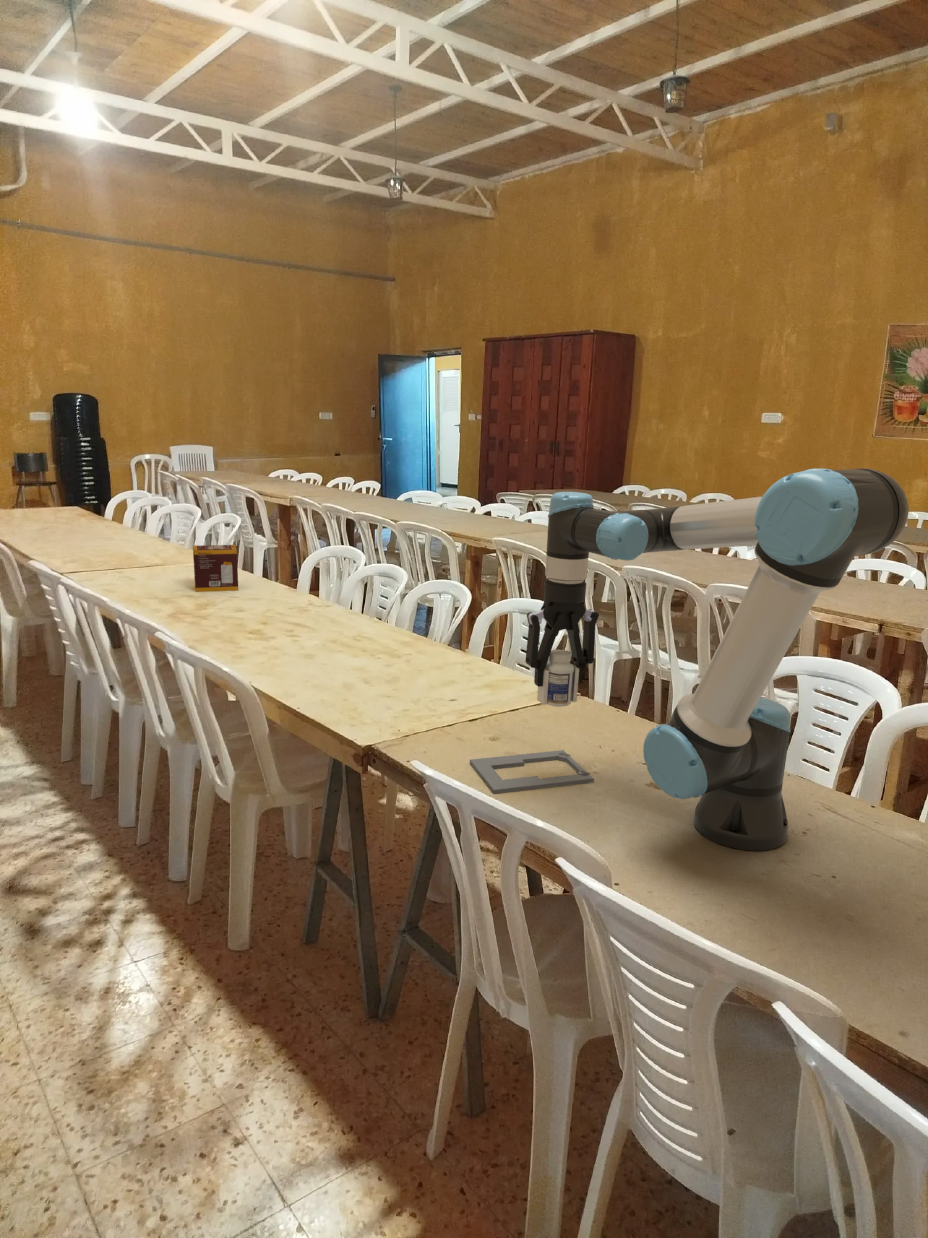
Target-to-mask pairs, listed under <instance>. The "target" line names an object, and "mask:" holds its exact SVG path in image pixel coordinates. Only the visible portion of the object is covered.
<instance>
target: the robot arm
mask: <svg viewBox="0 0 928 1238" xmlns="http://www.w3.org/2000/svg"><path fill="white" fill-rule="evenodd" d="M909 509H910V508H909V500H908V497H907V495H906V492H905V490H904V489H903V487H902V486H901V485H900V483H899V482H898V481H897V480H896V479H895V478H893V477H892V476H891V475H889V474H887V473H885V472H882V471H880V470H878V469H872V468H851V469H847V468H846V469H829V468H809V469H805V470H802V471H798V472H793V473H790V474H788V475H785V476H783V477H782V478H780V479H777V481H776V482H774V483H773V484H772V485H771V486H769V488H768V489H767V490H766V491H765V493H764V494H763V495H762V496H756V497H748V498H739V499H730V500H721V501H714V502H713V501H712V502H706V503H705V502H704V503H697V504H696V503H695V504H690V505H682V506H680V505H679V506H670V507H663V508H662V507H661V508H650V509H631V510H617V511H616V510H615V511H614V510H613V511H612V510H606V509H598V508H595V507H594V499H593V496H592V494H589V493H584V492H579V491H578V492H577V491H557V492H555V493H553V494H552V495H551V497H550V502H549V509H548V515H547V518H548V521H547V540H546V556H545V567H544V568H545V570H544V575H545V577H546V578H545V580H544V583H543V604H542V606H541V608H540V610H538V611H536V612H532V611H529V612H527V614H526V619H527V623H528V630H527V641H526V642H527V643H526V652H525V660H524V661H525V664H527V665H528V667H529V666H530V667H531V668H532V669H534V677H533V678H534V679H533V680H534V681H533V682H534V685H535V686H536V687H537V695H536V697H537V698H536V701H538V702H539V703H541V704H542V705H543V706H544V705H548V704H547V694H548V680H549V670H547V669H546V665H547V662H549V660H550V659H549V657H550V653H551V651H552V650H553V646H554V643H555V640H556V638H557V637H558V635H559V633H560V632H561V631H564V630H566V632H567V637H568V643H569V647H570V652H571V659H572V662H573V664H572V663H571V664H572V665H573V666H574V677H573V689H572V701H571V703H577V702H578V690H579V684H581V683H582V682H583V674H584V673H583V672H584V670H585V669H587V666H588V664H590V665H591V664H593V663H594V659H595V658H594V657H595V643H596V642H595V641H596V640H595V639H596V638H595V637H596V625H597V621H598V619H599V616H600V613H599V612H597V611H595V610H593V609H591V608H586V606H585V600H586V595H587V582H586V581H585V580H586V579H588V568H589V567H588V566H589V555H590V553H592V554H593V555H594V554H595V555H598V556H603V557H606V558H610V559H611V560H614V561H615V560H616V561H617V560H619V561H620V560H621V561H625V562H626V561H633V560H636V558H638V557H639V556H640V555H642V554H646V553H657V552H658V553H660V552H670V551H671V552H675V551H685V550H699V549H700V550H701V549H702V550H703V549H718V548H720V549H721V548H734V547H736V548H737V547H752V546H753V547H754V546H755V547H754V550H753V551H754V555H755V557H756V560H757V561H758V567H757V568H756V571H755V573H754V574H753V577H752V578H751V581H750V583H749V584H748V586H747V589H746V591H745V593H744V594H743V596H742V598H741V601H740V603H739V605H738V606H737V608H736V610H735V612H734V614H733V616H732V617H731V618H732V619H731V621H729V624H728V626H727V628H726V630H725V632H724V634H723V636H722V637H721V640H720V642H719V644H718V646H717V647H716V650H715V651H714V654H713V656H712V658H711V660H710V662H709V664H708V666H707V668H706V669H705V670H704V674H703V675H702V678H701V680H700V682H699V683H698V685H697V688H696V690H695V691H694V693H689V694H686V695H684V696H682V697H681V698H680V699H679V700H678V702H677V704H676V706H675V708H674V710H673V712H672V714H671V717H670V718H669V720H668V721H667V722H666V723H665V724H664V723H662V724H658V725H656V726H655V727H653V728H652V729H650V730H649V731H648V732H647V734H646V736H645V739H644V741H643V747H642V748H643V749H642V751H643V758H644V762H645V763H646V769H647V771H648V773H649V776H650V777H651V779H652V780H653V782H654V784H656V786H657V787H658V788H659V789H660V790H661V791H663V792H664V793H665V794H666V795H668V796H670V797H672V798H674V799H675V798H676V799H679V800H680V799H681V800H686V799H691V798H699V797H700V799H699V801H698V803H697V804H696V805H695V810H694V816H693V825H694V827H695V828H696V830H697V831H698V832H699V833H700V834H701V835H702V836H704V837H705V838H707V839H708V840H710V841H712V842H715V843H717V844H719V845H722V846H726V847H729V848H734V849H737V850H744V851H754V852H755V851H757V852H758V851H769V850H774V849H777V848H779V847H781V846H783V845H784V844H785V843H786V842H787V840H788V834H789V820H788V817H787V812H786V807H785V802H784V799H783V794H782V793H783V783H784V777H785V769H786V761H787V755H788V749H789V740H790V733H791V717H792V716H791V712H790V711H789V709H788V708H787V707H786V706H785V705H783V704H781V703H779V702H777V701H774V700H772V699H769V698H766V697H763V694H764V693H765V691H766V688H767V687H768V685H769V683H770V682H771V680H772V678H773V677H774V675H775V673H776V672H777V669H778V668H779V666H780V664H781V662H782V660H783V659H784V656H785V655H786V653H787V652H788V650H789V648H790V646H791V644H792V642H793V641H794V639H795V637H796V635H797V634H798V632H799V630H800V628H801V627H802V625H803V623H804V622H805V619H806V617H808V614H809V613H810V611H811V609H812V607H813V606H814V604H815V602H816V600H817V599H818V596H819V595H820V593H821V592H824V591H828V590H833V589H835V588H837V586H838V585H839V584H840V581H841V580H842V578H843V577H844V575H845V574H846V572H847V570H848V568H849V566H850V565H851V563H852V561H853V560H854V558H855V557H859V556H866V555H871V554H874V553H878V552H880V551H882V550H884V549H886V548H887V547H889V546H891V544H893V543H894V542H895V541H896V540H898V538H899V536H900V535H901V534H902V532H904V530H905V527H906V525H907V521H908V519H909V511H910V510H909ZM543 618H544V620H545V626H544V628H543V630H544V632H543V636H542V639H541V642H540V635H541V624H542V623H543V622H542V620H543ZM582 618H583V626H582V641H581V637H580V633H581V631H580V626H579V622H580V621H581V620H582ZM581 642H582V643H581Z"/></svg>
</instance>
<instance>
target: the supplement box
mask: <svg viewBox="0 0 928 1238" xmlns="http://www.w3.org/2000/svg"><path fill="white" fill-rule="evenodd" d="M192 554H193V555H192V556H193V573H194V574H193V575H194V586H195V587H194V588H195V593H207V592H208V593H209V592H230V591H231V592H235V591H239V571H238V570H239V567H238V550H237V547H236V544H216V545H215V544H214V545H210V544H208V545H205V544H203V545H192Z"/></svg>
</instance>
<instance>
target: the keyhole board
mask: <svg viewBox="0 0 928 1238" xmlns="http://www.w3.org/2000/svg"><path fill="white" fill-rule="evenodd" d="M557 760H558V761H561V762H566V763H567V764H568V765H569V766H570V767H571V768H573V770H574V771H576V772H577V773H576V774H567V775H558V776H551V777H550V776H547V777H542V778H541V777H539V776H538V775H533V776H532V775H530V776H524V777H514V778H507V779H502V778H501V776H500V775H499V773H497V771H496V770H498V769H506V768H507V769H508V768H516V767H517V768H518V767H525V764H529V763H538V762H539V763H540V762H548V761H549V762H550V761H557ZM469 765H470V766H471V767H472V768H473V769H474V771H475V772H476V773H477V774H478V776H479V777H480V778H481V780H482V781H483V782H484V784H485V785H486V786H487V787H488V789H489V790H490V791H491V792H492V794H493V795H497V794H504V793H515V792H521V791H522V792H523V791H530V790H539V789H548V788H556V787H566V786H575V785H583V784H590V783H591V784H592V783H594V782H595V778H594V777H593V776H592V775H591V772H588V771H587V770H585V769H584V768H583V767H582V766H581V765H580V764H579V763H578V762H577V761H576V760H575V759H573V758H572V757H571V754H569V753H567V752H566V751H565V750H564V749H562V750H551V751H542V752H541V751H540V752H532V753H522V754H512V755H503V756H501V755H500V756H493V757H483V758H472V759H469ZM495 769H496V770H495Z"/></svg>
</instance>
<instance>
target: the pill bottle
mask: <svg viewBox="0 0 928 1238" xmlns="http://www.w3.org/2000/svg"><path fill="white" fill-rule="evenodd" d="M571 661H572V653H571V651H569V650H566V649H552V650H551V653H550V656H549V659H548V662H547V665H546V669H547V670H549V680H548V694H547V704H546V705H549V706H552V707H560V708H561V707H566V706H567V707H568V706H569V705H571V704H572V689H573V677H574V666H573V665H574V664H573V665H572V663H571Z"/></svg>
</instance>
